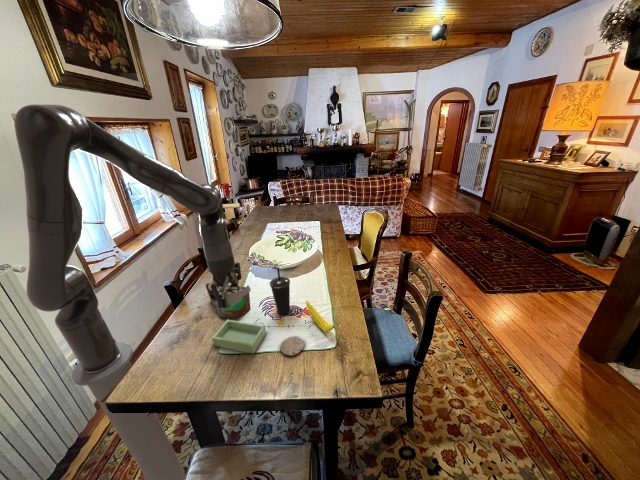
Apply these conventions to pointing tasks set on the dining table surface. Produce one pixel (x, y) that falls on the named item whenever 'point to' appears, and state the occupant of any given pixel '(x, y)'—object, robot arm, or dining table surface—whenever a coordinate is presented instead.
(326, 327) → the banana
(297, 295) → the dining table surface
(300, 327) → the dining table surface
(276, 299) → the drinking cup
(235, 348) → the holder
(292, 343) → the flatbread
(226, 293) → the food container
